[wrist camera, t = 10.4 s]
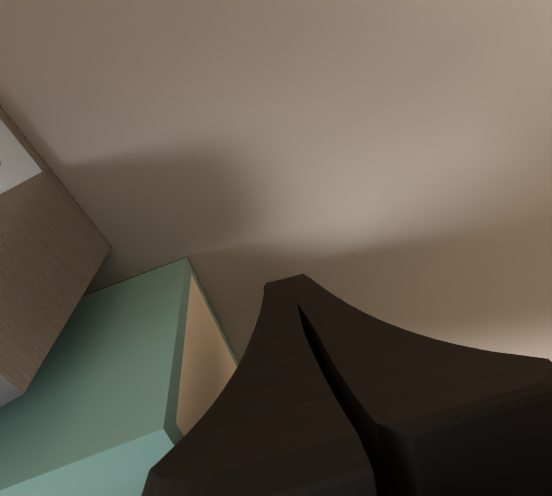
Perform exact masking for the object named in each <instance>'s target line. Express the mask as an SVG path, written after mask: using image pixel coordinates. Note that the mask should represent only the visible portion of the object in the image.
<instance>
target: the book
mask: <svg viewBox="0 0 552 496" xmlns="http://www.w3.org/2000/svg"><path fill="white" fill-rule="evenodd" d="M237 366H238V362H237V360H236V358H235V356H234V354H233V352H232V350H231V348H230V346H229V344H228V342H227V340H226V338H225V335H224V333H223V331H222V329H221V327H220V325H219V323H218V321H217V319H216V317H215V315H214V313H213V311H212V308H211V306H210V304H209V302H208V300H207V298H206V296H205V294H204V292H203V290H202V288H201V286H200V284H199V281H198V279H197V277H196V275H195V273H194V271H193V269H192V267H191V265H190V263H189V261H188V259H187V257H186V258H183V259H181V260H178V261H175V262H173V263H170V264H167V265H165V266H162V267H159V268H157V269H154V270H151V271H149V272H146V273H143V274H141V275H138V276H135V277H133V278H130V279H127V280H125V281H122V282H119V283H117V284H114V285H111V286H109V287H106V288H103V289H101V290H98V291H95V292H93V293H90V294H87V295H85V296H82V297H81V299H80V300H79V302H78V304H77V305H76V307H75V309H74V310H73V312H72V314H71V315H70V317H69V319H68V320H67V322H66V324H65V325H64V327H63V329H62V330H61V332H60V334H59V335H58V337H57V339H56V341H55V342H54V344H53V346H52V347H51V349H50V351H49V352H48V354H47V356H46V357H45V359H44V361H43V362H42V364H41V366H40V367H39V369H38V371H37V372H36V374H35V376H34V377H33V379H32V381H31V382H30V384H29V386H28V387H27V389H26V391H25V392H24V394H23V395H21V396H19V397H17V398H16V399H14V400H12V401H10V402H8V403H6V404H5V405H3V406H1V407H0V496H141V495H142V492H143V488H144V485H145V482H146V479H147V475H148V472H149V470H150V469H151V468H152V467H153V466H154V465H155V464H156V463H157V462H158V461H159V460H160V459H161V458H162V457H164V456H165V455H166V454H167V453H168V452H169V451H170V450H171V449H172V448H173V447H174V446H175V445H176V444H177V443H178V442H179V441H180V440H181V439H182V438H183V437H184V436H185V435H186V434H187V433H188V432H189V431H190V430H191V429H192V428H193V427H194V425H195V424H196V423H197V422H198V421H199V420H200V419H201V418H202V416H203V415H204V414H205V413H206V412H207V410H208V409H209V408H210V407H211V405H212V404H213V403H214V402H215V400H216V399H217V398H218V396H219V395H220V393H221V392H222V390H223V389H224V387H225V386H226V384H227V383H228V381H229V380H230V378H231V376H232V375H233V373H234V372H235V370H236V368H237Z"/></svg>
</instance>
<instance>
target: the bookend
mask: <svg viewBox="0 0 552 496" xmlns="http://www.w3.org/2000/svg"><path fill="white" fill-rule="evenodd" d="M110 249H111V246H110V245H109V243H108V242H107V241H106V240H105V238H104V237H103V236H102V234H101V233H100V232H99V231H98V229H97V228H96V227H95V226H94V224H93V223H92V222H91V221H90V219H89V218H88V217H87V215H86V214H85V213H84V212H83V210H82V209H81V208H80V207H79V205H78V204H77V203H76V202H75V200H74V199H73V198H72V197H71V195H70V194H69V193H68V191H67V190H66V189H65V188H64V186H63V185H62V184H61V183H60V181H59V180H58V179H57V178H56V176H55V175H54V174H53V173H52V171H51V170H50V169H49V167H48V166H47V165H46V164H45V162H44V161H43V160H42V159H41V157H40V156H39V155H38V154H37V152H36V151H35V150H34V148H33V147H32V146H31V145H30V143H29V142H28V141H27V140H26V138H25V137H24V136H23V135H22V133H21V132H20V131H19V130H18V128H17V127H16V126H15V124H14V123H13V122H12V121H11V119H10V118H9V117H8V116H7V114H6V113H5V112H4V111H3V109H2V108H1V107H0V407H1V406H3V405H5V404H6V403H8V402H10V401H12V400H14V399H16V398H17V397H19V396H21V395H23V394H24V392H25V391H26V389H27V387H28V386H29V384H30V382H31V381H32V379H33V377H34V376H35V374H36V372H37V371H38V369H39V367H40V366H41V364H42V362H43V361H44V359H45V357H46V356H47V354H48V352H49V351H50V349H51V347H52V346H53V344H54V342H55V341H56V339H57V337H58V335H59V334H60V332H61V330H62V329H63V327H64V325H65V324H66V322H67V320H68V319H69V317H70V315H71V314H72V312H73V310H74V309H75V307H76V305H77V304H78V302H79V300H80V299H81V297H82V295H83V294H84V292H85V290H86V289H87V287H88V285H89V284H90V282H91V280H92V279H93V277H94V275H95V274H96V272H97V270H98V269H99V267H100V265H101V264H102V262H103V260H104V259H105V257H106V255H107V254H108V252H109V250H110Z"/></svg>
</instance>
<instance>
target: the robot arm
mask: <svg viewBox="0 0 552 496" xmlns="http://www.w3.org/2000/svg"><path fill="white" fill-rule="evenodd" d="M141 496H552V362H551V361H550V360H549V359H545V358H538V357H530V356H522V355H515V354H507V353H499V352H492V351H486V350H481V349H476V348H471V347H466V346H461V345H456V344H452V343H448V342H444V341H440V340H436V339H433V338H429V337H426V336H423V335H419V334H416V333H413V332H410V331H407V330H404V329H401V328H398V327H396V326H393V325H391V324H388V323H386V322H383V321H381V320H379V319H376V318H374V317H372V316H370V315H368V314H366V313H364V312H362V311H360V310H358V309H356V308H354V307H352V306H351V305H349V304H347V303H346V302H344V301H342V300H341V299H339V298H338V297H336V296H334V295H333V294H331V293H330V292H328V291H327V290H326V289H324V288H323V287H321V286H320V285H319V284H317V283H316V282H314V281H313V280H312V279H310V278H309V277H308V276H306V275H305V274H301V275H297V276H293V277H289V278H285V279H281V280H277V281H273V282H269V283H266V285H265V286H264V295H263V301H262V306H261V310H260V313H259V317H258V320H257V323H256V326H255V329H254V332H253V334H252V337H251V339H250V341H249V344H248V346H247V349H246V351H245V353H244V355H243V357H242V359H241V361H240V363H239V364H238V366H237V368H236V370H235V372H234V373H233V375H232V376H231V378H230V380H229V381H228V383H227V384H226V386H225V387H224V389H223V390H222V392H221V393H220V395H219V396H218V398H217V399H216V400H215V402H214V403H213V404H212V405H211V407H210V408H209V409H208V410H207V412H206V413H205V414H204V415H203V416H202V418H201V419H200V420H199V421H198V422H197V423H196V424H195V425H194V427H193V428H192V429H191V430H190V431H189V432H188V433H187V434H186V435H185V436H184V437H183V438H182V439H181V440H180V441H179V442H178V443H177V444H176V445H175V446H174V447H173V448H172V449H171V450H170V451H169V452H168V453H167V454H166V455H165V456H164V457H162V458H161V459H160V460H159V461H158V462H157V463H156V464H155V465H154V466H153V467H152V468H151V469H150V470H149V472H148V475H147V479H146V482H145V485H144V488H143V492H142V495H141Z"/></svg>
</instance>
